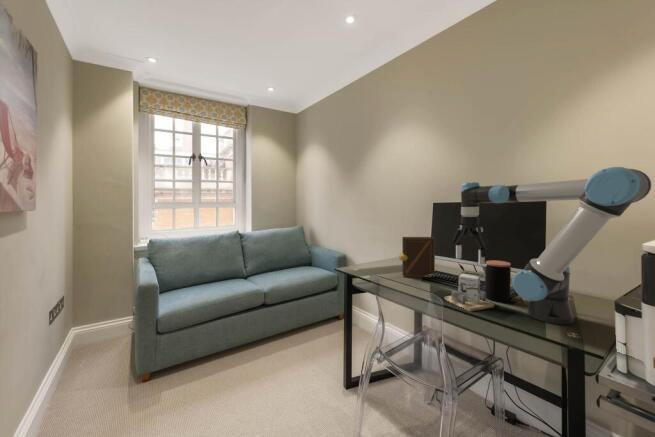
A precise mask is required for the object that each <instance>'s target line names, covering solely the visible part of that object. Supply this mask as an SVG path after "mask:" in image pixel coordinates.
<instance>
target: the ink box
mask: <svg viewBox="0 0 655 437" xmlns="http://www.w3.org/2000/svg"><path fill="white" fill-rule="evenodd" d="M457 289H458V291H457V292H458V293H460V294H463V295H465V301H467V302H472V303H478V302H479V297H480V291H481V277H480V276H479V275H475V274H474V275H473V274H469V273H467V274H466V273H460V275H458V288H457Z"/></svg>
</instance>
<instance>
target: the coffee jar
mask: <svg viewBox="0 0 655 437" xmlns="http://www.w3.org/2000/svg"><path fill="white" fill-rule="evenodd" d="M511 265H512V264H511V262H508V261H504V260H492V259H491V260H485V273H484V274H485V275H484V276H485V277H484V278H485V280H484V281H485V283H484V292H486V299H488V300H490V301H492V302H498V303H500V302H501V303H504V302H508V301H509V300H510V298H511V276H512V275H511V274H512V273H511V271H512V269H511Z"/></svg>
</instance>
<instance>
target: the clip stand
mask: <svg viewBox="0 0 655 437" xmlns="http://www.w3.org/2000/svg"><path fill="white" fill-rule="evenodd" d="M444 299H445V301H446V300H447V302H448V301H449V303H451V304H454V305H456V306H457V307H460V308H461V307H462V309H463V308H464V310H466V311H468V312H475V311H480V310H485V309H492V308H495V303H493V302H491V301H488V300H487V297H486V292H485V291H484V290H480V297H479V302H478V303H472V302H467V301H465V295H463V294H460V293H458V291H455V290H452V291H451V295H446V296H444Z"/></svg>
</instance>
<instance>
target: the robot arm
mask: <svg viewBox="0 0 655 437" xmlns="http://www.w3.org/2000/svg"><path fill="white" fill-rule="evenodd" d="M651 189H652V181H651V179H650V177H649V176H648V174H646V173H645V172H643V171H641V170H638V169H634V168H627V167H623V166H613V167H607V168H603V169H601V170H598V171H597V172H594V173H593V174H592V175H591V176H590V177H589V178H585V179H584V178H583V179H571V180H561V181H560V180H559V181H549V182H548V181H547V182H538V183H537V182H536V183H528V184H513V185H505V184H504V185H502V184H496V185H484V186H483V185H480V183H479V182H471V181H470V182H463V183H462V184H461V190H460V199H461V200H460V201H461V204H460V205H461V206H460V215H461V217H460V225H459V224H458V225H456V230H455V233H454V235H453V238H452V241H451V244H454V247H455V248H454V249H455V259H456V260H458V259H459V260H460V259H462V252H463V250H462V248H463V247H462V243H463V241H464V240H465V238H466V237H467V236H468V237H471V238H473V239H474V241H475V242H476V244H477V247H479V249H478V265H486V260H485V258H486V256H487V255H486V254H487V253H486V252H487V250H490V249H491V245H490V243H489V240H488V238H487V235H486V233H485V227H483V226H480V227H479V226H478V225H479V224H480V217H479V215H480V204H504V203H511V204H512V203H521V202H522V203H524V202H525V203H528V202H553V201H577V200H578V203H579V206H578V207H577V209H576V210H575V211H574V213H572V215H571V216H570V217H569V219H568V220H567V222H565V223H564V225H563V226H562V228H561V229H560V230H559V232H558V233H557V234H556V235H555V236H554V238H553V239H551V241H550V243H548V245H547V247H546V248H544V251H542V252H541V254H540V255H539V256H538V258H531V259H530V260H529V262H528V263H527V264H526V265H525V267H524V268H523V269H522V270H518V271H517V272H516V273H515V274H514V275H513V277H512V279H511V282H512V283H511V284H512V286H513V289H514V291H515V292H516V294H517V295H518V296H519V297H521V298H522V299H524V300H527V301H530V302H529V303H528V307H527V311H526V312H527V315H528V316H529V317H532V318H533V319H535V320H538V321H541V322H545V323H549V324H556V325H570V324H573V323H574V318H575V317H574V314H573V312H572V311H573V310H572V308H571V305H570V302H569V295H570V294H569V293H570V277H571V272H570V271H571V270H570V265H571V264H572V262H574V260H576V258H577V257H578V256H579V255H580V253H581V252H582V251H583V250H584V249H585V248H586V247H587V245H589V243H590V242H591V241H592V240H593V239H594V238H595V237H596V235H597V234H598V233H599V232H600V231H601V230H602V229H603V227H604V226H605V225H606V224H607V223H608V222H609V221H610V219H616V218H619V217H621V215H623V214H624V212H625V211H627V209H628V208H629V207H630V206H631V204H634V203H637V202H639V201H641V200H643V199H644V198H646V197H647V196H648V195H649V193H650V192H651Z"/></svg>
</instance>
